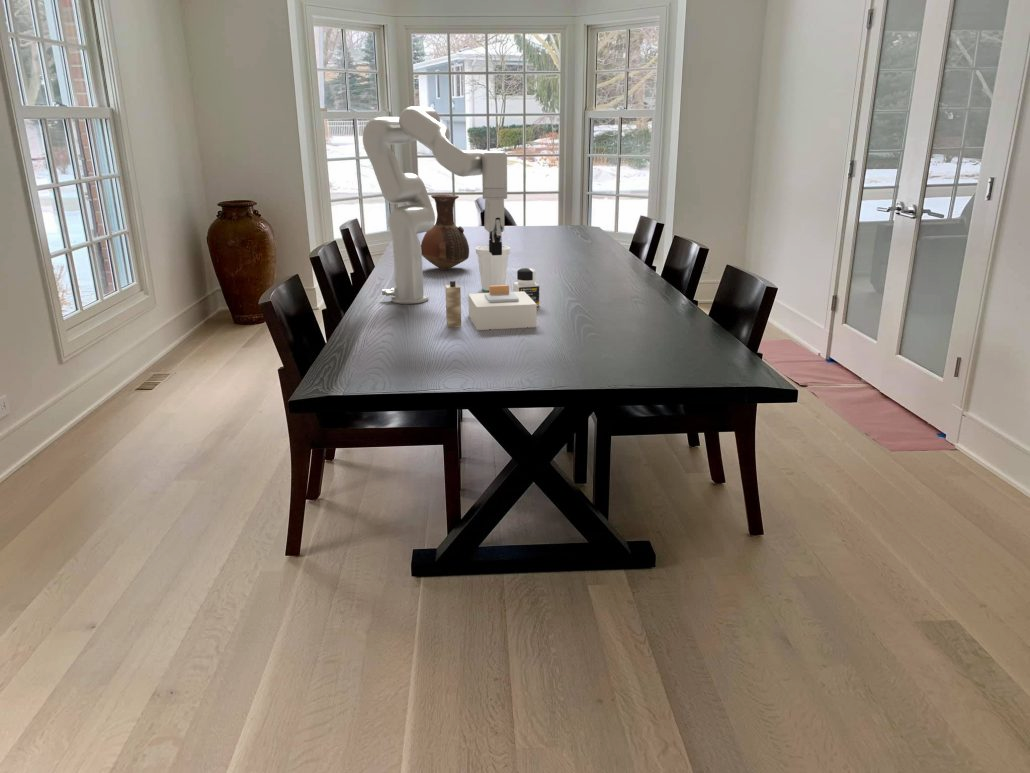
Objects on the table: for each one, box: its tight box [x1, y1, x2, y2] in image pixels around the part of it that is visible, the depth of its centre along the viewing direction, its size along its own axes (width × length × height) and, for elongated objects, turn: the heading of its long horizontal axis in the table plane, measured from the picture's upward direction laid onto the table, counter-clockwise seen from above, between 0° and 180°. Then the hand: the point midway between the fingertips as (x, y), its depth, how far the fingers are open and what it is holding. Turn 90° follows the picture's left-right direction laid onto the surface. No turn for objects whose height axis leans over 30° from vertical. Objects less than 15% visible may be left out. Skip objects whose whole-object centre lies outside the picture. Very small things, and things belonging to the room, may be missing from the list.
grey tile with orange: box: [484, 284, 519, 303], centre depth 229 cm, size 9×9×3 cm
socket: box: [467, 291, 538, 331], centre depth 231 cm, size 18×18×7 cm
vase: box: [420, 194, 470, 271], centre depth 306 cm, size 25×20×30 cm
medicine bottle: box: [512, 267, 540, 306], centre depth 250 cm, size 7×7×12 cm
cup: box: [475, 244, 511, 292], centre depth 272 cm, size 12×12×15 cm
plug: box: [445, 280, 462, 328], centre depth 225 cm, size 4×4×14 cm
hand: (495, 253), depth 235 cm, fingers open, 3 cm apart
